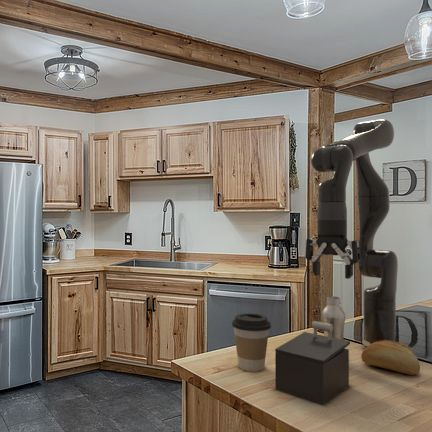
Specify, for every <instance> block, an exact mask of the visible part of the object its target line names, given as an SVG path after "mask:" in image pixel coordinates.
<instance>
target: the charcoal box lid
mask: <svg viewBox="0 0 432 432" xmlns="http://www.w3.org/2000/svg"><path fill="white" fill-rule="evenodd" d="M311 327H312V329H313V333H312V332H307V331H304V332H302V333H300V334H298V335H296V336H295V337H293V338H292V339H290V340H288V341H286V342H285V343H283V344H281V345H280V346H278V347H276V348H275V349H274V351H275V352H278V353H282V354H286V355H290V356H294V357H298V358H302V359H306V360H310V361H313V362H317V363H321V364H324V363H325V362H327V361H328V360H329V359H331V358H332V357H333V356H335V355H336V354H337V353H339V352H340V351H341V350H343V349H344V348H345V349H346V348H347V347H348V346H350V345H351V341H350V340H346V339H344V340H341V339H337V338H332V331H333V325H332V324H327V323H323V321H322V322H321V321H316V320H313V321H312V323H311ZM318 330H319V331H323V332H324V331H328V337H327V336H324V335H322V334H318ZM275 352H274V353H275Z"/></svg>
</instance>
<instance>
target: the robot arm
mask: <svg viewBox="0 0 432 432" xmlns="http://www.w3.org/2000/svg"><path fill="white" fill-rule="evenodd" d="M394 139H395V130H394V126H393V123H392V122H391V121H390V120H388V119H376V120H369V121H362V122H358V123H356V124H355V125H354V127H353V130H352V135H349V136H347V137H344V138H342V139H340V140H338V141H337V142H334V143H330V144H325V145H323V146H319V147H317V148H316V149H315V150H314V151H313V152H312V154H311V157H310V164H311V167H312V168H313V169H314V170H315V171H316V172H318V173H334V174H333V175H332V177H331V178H329V179H326V180H323V181H320V182H319V184H318V187H317V201H318V204H317V211H316V213H317V214H316V218H317V219H316V220H317V221H316V222H317V225H316V226H317V227H316V230H317V231H316V232H317V233H316V234H317V238H312V237H309V238H306V240H305V255H304V256H305V257H304V258H305V259H306V260H309V261H311V262H312V265H311V266H312V269H311V270H312V271H311V272H312V273H313V275H314V276H320V275H321V261H320V260H321V258H323V257H324V256H328V255H331V256H339V258H340V259H341V260H343V263H345V264H344V278H345V279H347V280H349V279H351V278H352V277H353V275H354V265H355V264H357V267H358V272H359V273H360V274H361V276H362V277H366V278H367V277H368V278H373V279H380V283H379V284H378V285H375V286H370V287H367V288H365V289H364V290H363V338H362V340H361V341H362V344H363V346H362V347H363V351H364V350H365V348H366V347H368V346H369V345H370V344H372V343H374V342H375V341H378V340H390V341H396V342H397V337H396V336H397V332H396V331H397V323H396V322H397V316H396V315H397V313H396V312H397V310H396V309H397V307H396V306H397V305H396V304H397V303H396V301H397V300H396V299H397V298H396V296H397V289H398V271H399V260H398V256H397V254H396V253H395V252H394V251H392V250H385V249H374V242H375V241H374V240H375V236H376V234H377V232H378V230H379V229H380V228H381V227H380V226H381V225H382V224H383V223H384V221H385V219H386V218H387V216H388V215H389V212H390V191H389V187H388V185H387V184H386V181H385V180H384V179H383V178H382V177H381V176H380V175H379V173H378V172H377V170H376V169H375V167H374V165H373V164H372V161H371V158H370V153H371V152H373V151H377V150H382V149H386V148H388V147H390V146H391V145H392V144H393V141H394ZM354 161H355V169H356V185H357V186H356V196H357V197H356V199H357V213H358V239H356V240H355V239H354V240H348V208H347V183H348V179H349V176H350V173H351V169H352V167H353V162H354ZM316 245H317V247H318V249H317V250H316V251H315V253H314V250H315V247H316ZM348 246H349V248H350V249H351V255H350V253H349V252H348V250H347V247H348ZM351 256H352V257H351Z"/></svg>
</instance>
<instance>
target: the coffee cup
mask: <svg viewBox="0 0 432 432" xmlns="http://www.w3.org/2000/svg"><path fill="white" fill-rule="evenodd" d="M231 327H233V333H234V340H235V349H236V356H237V364H238V366H239V368H240V369H241V370H243V371H246V372H251V373H252V372H253V373H257V372H261V371H263V370H264V369H265V368H264V367H265V363H266V355H267V349H268V342H269V341H268V340H269V331H270V329H272V326H271V322H270V321H269V320H268V317H267V316H265V315H263V314H260V313H259V314H258V313H250V312H249V313H237V314H236V315H235V317H234V319H233V320H232V322H231Z"/></svg>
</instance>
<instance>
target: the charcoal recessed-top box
mask: <svg viewBox="0 0 432 432" xmlns="http://www.w3.org/2000/svg"><path fill="white" fill-rule="evenodd" d="M274 353H275V354H274V355H275V357H274V359H275V360H274V361H275V366H274V369H275V370H274V371H275V372H274V373H275V376H274V377H275V378H274V379H275V385H274V386H275V390H276V391H279V392H282V393H284V394H285V393H286V394H287V395H288V394H289V395H291V396H295V397H298V398H301V399H303V400H307V401H310V402H313V403H315V404H319V405H322V406H324V405H325V404H327V403H328V402H330V401H331V400H333V399H334V398H335V397H336V396H338V395H339V394H340V393H342V392H343V391H345V390H346V389H347V388H348V387H350V379H349V378H350V375H349V374H350V349H349V348H345V349H343V350H341V351H340V352H339V353H337V354H336V355H335V356H333V357H332V358H331V359H329V360H328V361H327V362H325V363H324V364H321V363H317V362H313V361H310V360H306V359H302V358H298V357H294V356H290V355H286V354H282V353H278V352H274Z"/></svg>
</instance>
